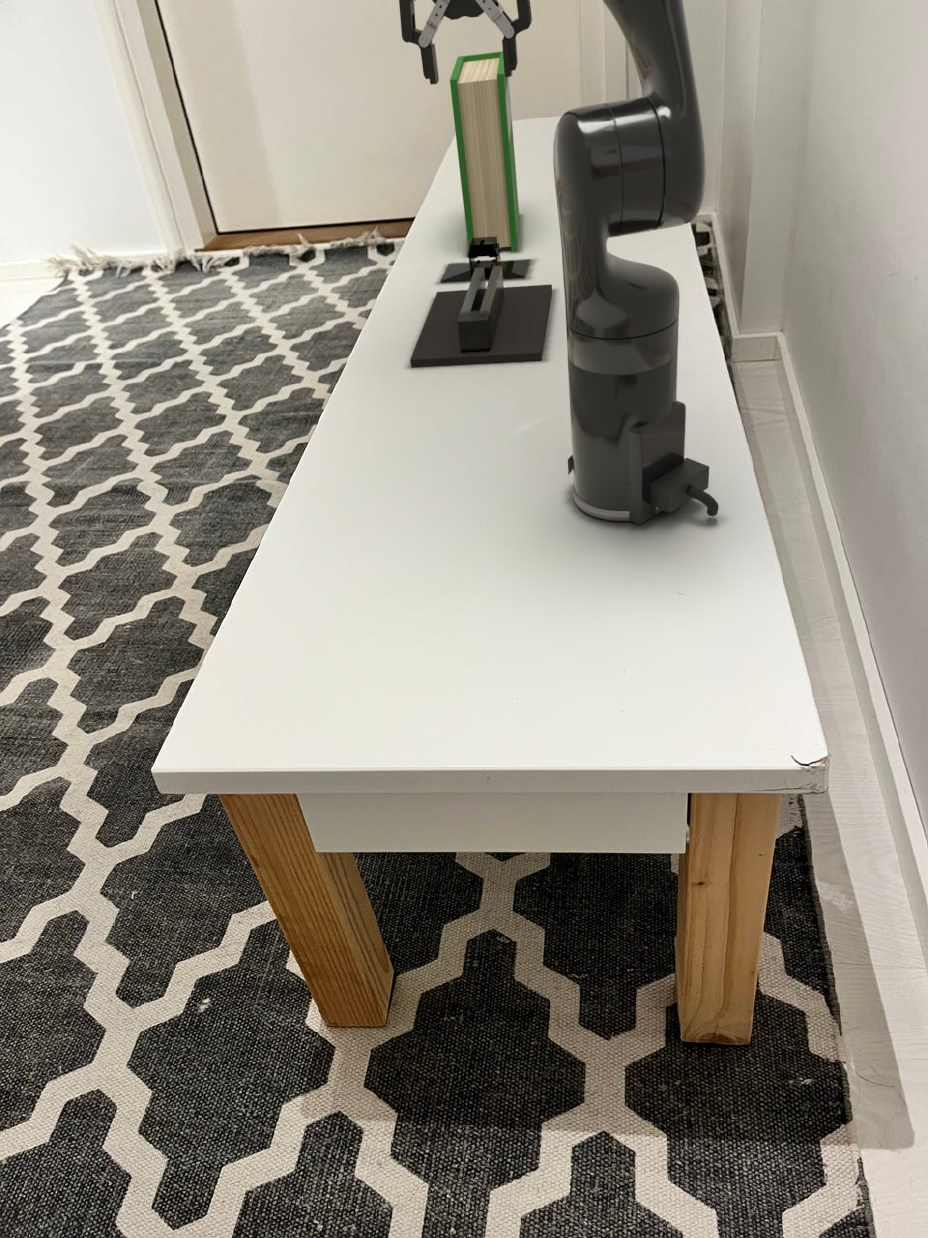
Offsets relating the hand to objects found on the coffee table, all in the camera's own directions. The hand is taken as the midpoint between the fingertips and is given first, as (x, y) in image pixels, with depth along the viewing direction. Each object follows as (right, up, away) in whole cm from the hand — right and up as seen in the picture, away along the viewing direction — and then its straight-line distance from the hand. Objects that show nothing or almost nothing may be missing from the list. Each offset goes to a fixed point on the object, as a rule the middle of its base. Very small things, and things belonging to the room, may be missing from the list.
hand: (471, 79), depth 109 cm
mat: (+2, -23, +16) cm, 28 cm away
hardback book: (+4, 0, +44) cm, 44 cm away
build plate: (+2, -11, +32) cm, 33 cm away
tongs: (+2, -23, +15) cm, 27 cm away
